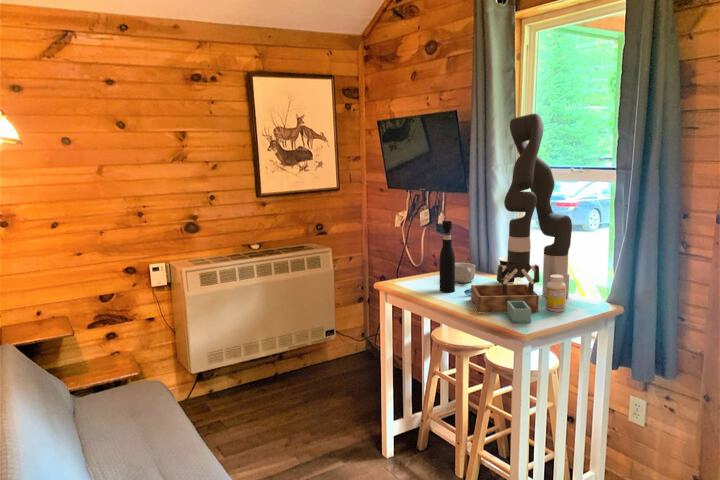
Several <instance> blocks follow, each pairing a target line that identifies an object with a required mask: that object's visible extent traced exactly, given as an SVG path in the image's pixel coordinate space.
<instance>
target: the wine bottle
mask: <svg viewBox="0 0 720 480" xmlns="http://www.w3.org/2000/svg"><path fill="white" fill-rule="evenodd" d="M441 225H442V230H443V239H442V247H441V250H440V254H439V291H440V292H441V293H445V294H451V293H454V292H456V281H455V263H456V257H455V252H454V249H453V245H452V242H453V240H452V235H451V230H452V229H453V228H452V227H453V221H452V220H443V221H442V224H441Z"/></svg>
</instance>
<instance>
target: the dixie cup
mask: <svg viewBox="0 0 720 480" xmlns="http://www.w3.org/2000/svg"><path fill="white" fill-rule="evenodd" d="M507 258H508V256H505V257H504V256H503V257H499V259H498V260H499V265H502V266H506V265H507ZM507 273H508V271H507V269H505V270H504V272H502V279H503V278H504V277H505V275H506V274H507ZM515 279H516V278H514V277H512V278H511V279H510V280H509V281H508V282H507V283H506V284H514V282H515Z"/></svg>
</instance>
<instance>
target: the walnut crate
mask: <svg viewBox="0 0 720 480" xmlns="http://www.w3.org/2000/svg"><path fill="white" fill-rule="evenodd" d="M470 300H471V302H472V304H473V306H474V305H475V306H474V308H475V307H476V308H475V310H476V309H477V310H476V311H477V313H478V312H485V313H507V301H524V302H525V303H526V304H527V305H528V306H529V307H530V308H531V313H538V312H539V310H540V309H539V305H540V302H539V301H540V296H539V294H537V293H536V291H535V290H533V293H532V294H531V295H529V294H528V284H527V283H523V284H522V283H516V284H514V283H513V284H507V295H505V294H504V293H503V292H502V284H471V286H470Z"/></svg>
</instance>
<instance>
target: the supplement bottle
mask: <svg viewBox="0 0 720 480" xmlns="http://www.w3.org/2000/svg"><path fill="white" fill-rule="evenodd" d="M550 280H551V281H550V282H548V284H547V297H546V309H547V310H548V311H550V312H557V313H558V312H559V313H560V312H564V311H565V310H566V301H567V299H566V298H567V297H566V284H565V283H564V282H563V276H562V275H550Z"/></svg>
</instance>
